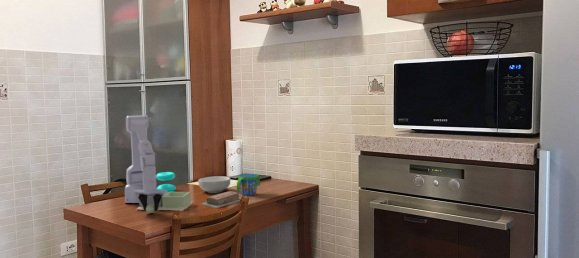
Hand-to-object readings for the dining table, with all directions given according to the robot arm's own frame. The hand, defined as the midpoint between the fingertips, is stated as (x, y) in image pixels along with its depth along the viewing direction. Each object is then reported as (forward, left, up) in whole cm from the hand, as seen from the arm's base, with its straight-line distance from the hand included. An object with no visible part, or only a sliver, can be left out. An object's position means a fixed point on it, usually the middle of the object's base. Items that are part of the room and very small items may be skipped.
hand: (150, 210), depth 221 cm
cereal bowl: (+17, +46, -2) cm, 49 cm away
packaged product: (+28, +20, -2) cm, 34 cm away
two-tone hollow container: (+2, +12, -1) cm, 12 cm away
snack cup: (+37, +39, -2) cm, 54 cm away
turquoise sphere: (-10, +46, -2) cm, 47 cm away
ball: (0, 0, +1) cm, 1 cm away
